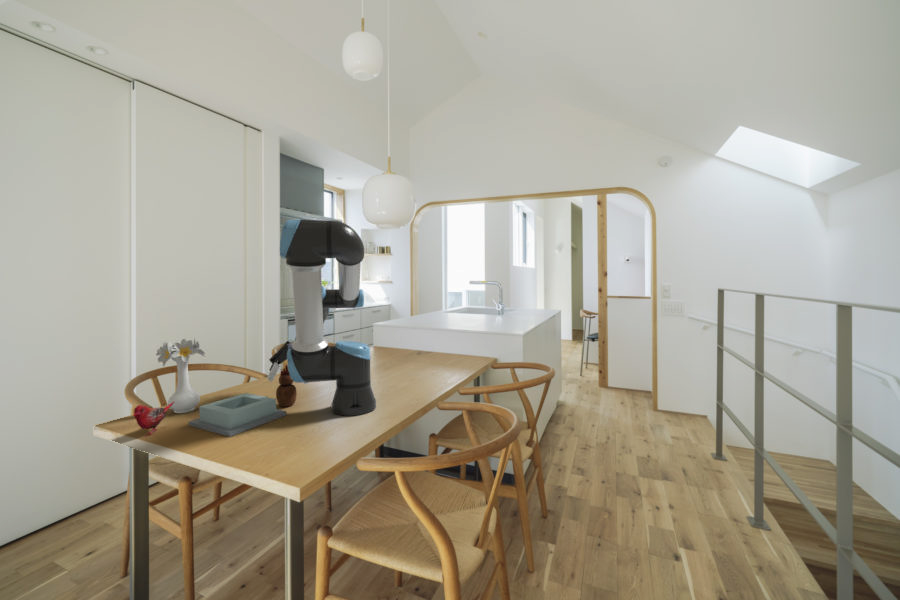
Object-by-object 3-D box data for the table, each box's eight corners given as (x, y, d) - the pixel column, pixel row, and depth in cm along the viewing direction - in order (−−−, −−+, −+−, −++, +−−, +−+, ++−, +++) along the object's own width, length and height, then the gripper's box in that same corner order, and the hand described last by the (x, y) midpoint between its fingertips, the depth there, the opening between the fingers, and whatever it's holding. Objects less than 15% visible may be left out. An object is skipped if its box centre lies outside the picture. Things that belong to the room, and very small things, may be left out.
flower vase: (182, 402, 145) (179, 334, 144) (218, 408, 139) (215, 337, 137) (144, 413, 133) (140, 340, 132) (181, 420, 126) (177, 343, 125)
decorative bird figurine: (129, 443, 109) (127, 408, 108) (170, 420, 127) (169, 389, 126) (140, 443, 109) (138, 408, 109) (179, 420, 127) (178, 389, 126)
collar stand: (286, 414, 131) (286, 398, 131) (229, 436, 113) (229, 417, 113) (247, 406, 140) (246, 390, 140) (188, 425, 122) (187, 407, 122)
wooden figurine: (300, 403, 143) (299, 363, 142) (288, 408, 137) (287, 366, 136) (285, 401, 145) (283, 361, 144) (273, 406, 140) (272, 365, 139)
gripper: (341, 339, 155) (321, 387, 142) (284, 337, 161) (261, 384, 147) (334, 328, 150) (313, 376, 136) (276, 326, 155) (250, 373, 141)
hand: (286, 380), depth 141 cm, fingers open, 13 cm apart
